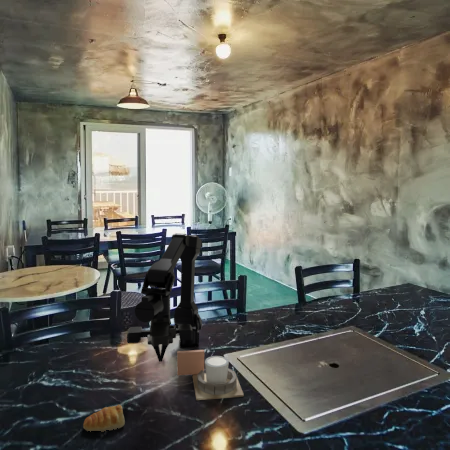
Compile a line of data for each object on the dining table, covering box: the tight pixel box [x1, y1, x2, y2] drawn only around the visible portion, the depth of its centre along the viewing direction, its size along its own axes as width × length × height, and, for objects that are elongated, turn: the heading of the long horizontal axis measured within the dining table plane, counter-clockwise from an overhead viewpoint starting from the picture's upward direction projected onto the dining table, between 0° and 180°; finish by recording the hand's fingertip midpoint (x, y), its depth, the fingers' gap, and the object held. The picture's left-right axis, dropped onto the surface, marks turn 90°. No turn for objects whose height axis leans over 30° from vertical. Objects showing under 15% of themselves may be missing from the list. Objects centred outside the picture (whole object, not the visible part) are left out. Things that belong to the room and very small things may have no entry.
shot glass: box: [204, 355, 230, 384], centre depth 109 cm, size 7×7×7 cm
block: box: [176, 349, 205, 376], centre depth 114 cm, size 8×1×7 cm, turn 100°
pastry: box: [82, 404, 126, 433], centre depth 91 cm, size 9×7×4 cm
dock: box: [191, 367, 245, 401], centre depth 109 cm, size 13×13×3 cm
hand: (160, 361), depth 112 cm, fingers closed
